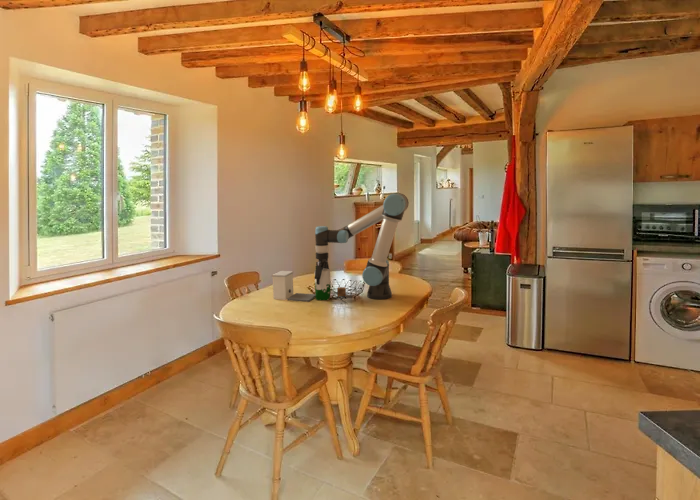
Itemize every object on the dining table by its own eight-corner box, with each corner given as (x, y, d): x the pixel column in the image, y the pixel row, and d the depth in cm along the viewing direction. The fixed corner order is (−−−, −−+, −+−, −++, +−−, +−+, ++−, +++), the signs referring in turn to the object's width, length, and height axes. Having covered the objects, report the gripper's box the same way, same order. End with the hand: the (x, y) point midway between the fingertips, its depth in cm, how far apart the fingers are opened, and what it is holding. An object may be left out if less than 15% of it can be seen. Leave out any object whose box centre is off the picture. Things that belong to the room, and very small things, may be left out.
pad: (317, 295, 273) (317, 294, 273) (309, 301, 259) (309, 300, 259) (296, 294, 277) (296, 293, 276) (287, 300, 263) (287, 298, 263)
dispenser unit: (294, 294, 276) (293, 271, 274) (286, 299, 264) (285, 275, 262) (281, 294, 279) (280, 270, 276) (272, 299, 267) (271, 274, 264)
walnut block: (345, 295, 274) (345, 287, 273) (345, 297, 269) (345, 289, 268) (337, 295, 274) (337, 287, 273) (337, 297, 269) (337, 289, 268)
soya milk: (317, 296, 271) (317, 264, 268) (332, 297, 269) (331, 265, 266) (313, 300, 262) (313, 267, 259) (328, 301, 260) (327, 267, 257)
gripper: (322, 248, 274) (323, 282, 277) (308, 255, 250) (309, 291, 254) (334, 249, 272) (334, 282, 275) (320, 255, 248) (321, 292, 252)
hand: (322, 287), depth 264 cm, fingers open, 13 cm apart
